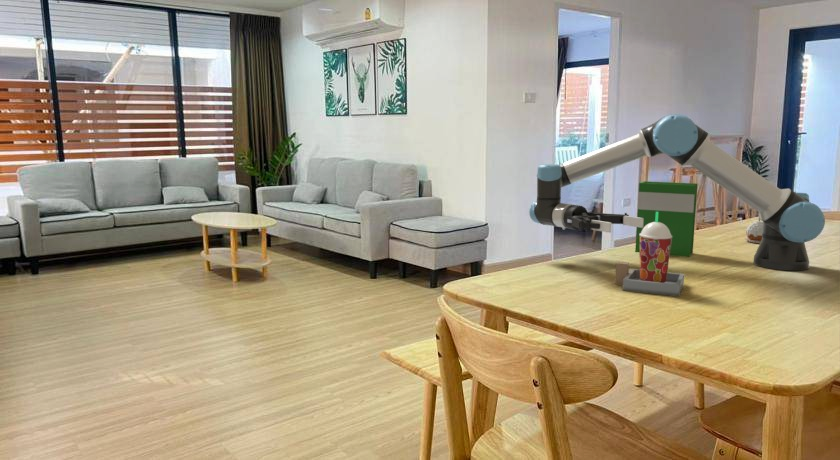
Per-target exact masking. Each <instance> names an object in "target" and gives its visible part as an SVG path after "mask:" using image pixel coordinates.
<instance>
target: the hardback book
mask: <svg viewBox="0 0 840 460" xmlns="http://www.w3.org/2000/svg"><path fill="white" fill-rule="evenodd" d="M698 185H699V184H698V183H695V182H693V183H692V182H691V183H690V182H669V181H668V182H667V181H650V180H649V181H645V180H643V181H640V182H639V183H638V197H637V198H638V199H637V213H636V214H637V216H636V217H639V218H644V221H643V228H644V227H645V226H646V225H647V224H649V223H651V222H655V218H656V212H658V222H660V223H663V224H664V225H666V226H667V227H668V229H669V230H670V233H671V235H672V241H671V249H670V256H672V257H673V256H675V257H682V258H683V257H684V258H691V254H693V252H694V240H695V227H696V226H695V225H696V212H697V200H698V198H697V197H698ZM643 228H640V227H636V232H635V250H634V253H638V254H640V236H639V234H640V233H641V231H642V229H643Z"/></svg>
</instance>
